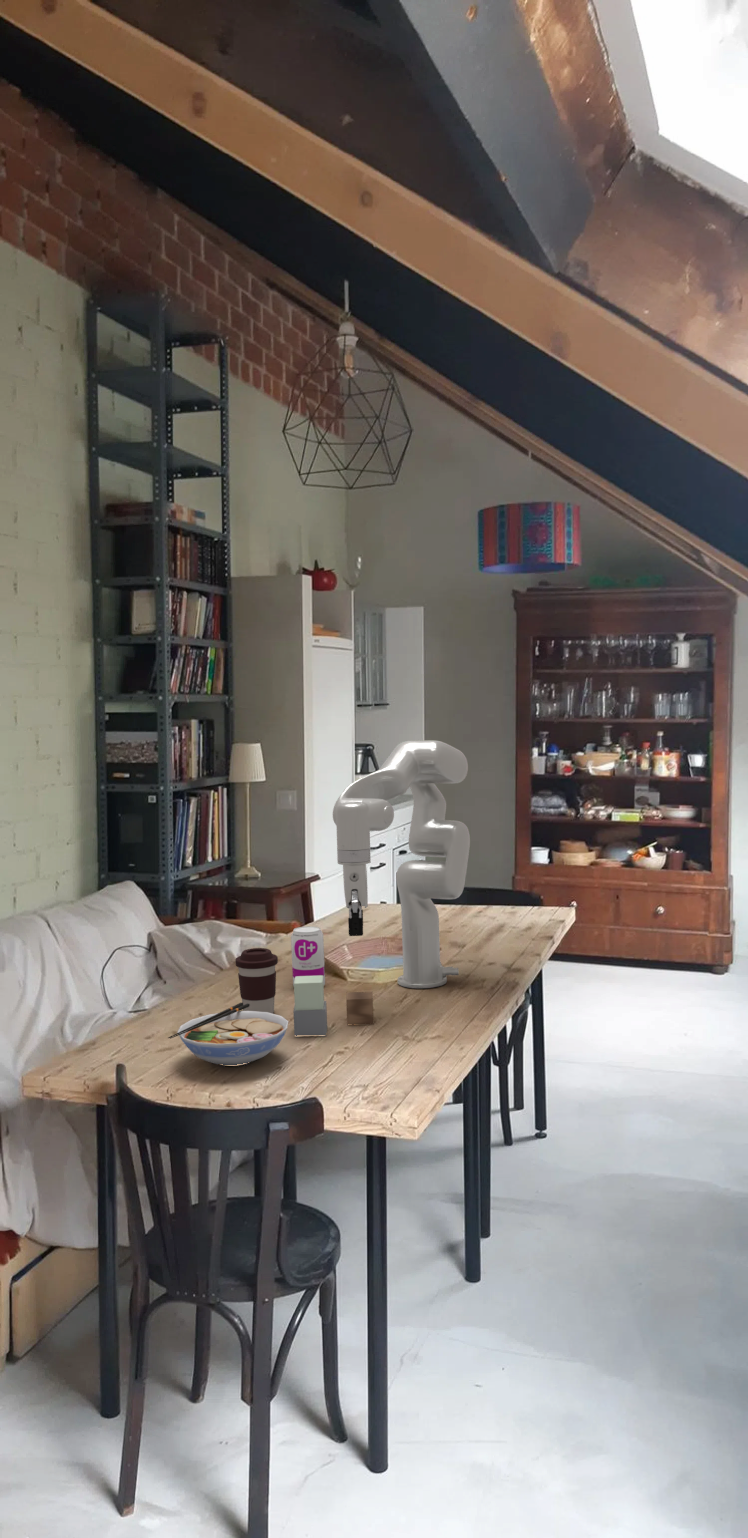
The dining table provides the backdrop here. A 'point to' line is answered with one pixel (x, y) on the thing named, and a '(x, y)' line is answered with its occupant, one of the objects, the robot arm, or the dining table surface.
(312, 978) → the tower mid
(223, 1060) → the ramen bowl
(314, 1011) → the tower base
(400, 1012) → the dining table surface
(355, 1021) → the walnut cube
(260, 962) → the coffee cup
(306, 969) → the supplement can
